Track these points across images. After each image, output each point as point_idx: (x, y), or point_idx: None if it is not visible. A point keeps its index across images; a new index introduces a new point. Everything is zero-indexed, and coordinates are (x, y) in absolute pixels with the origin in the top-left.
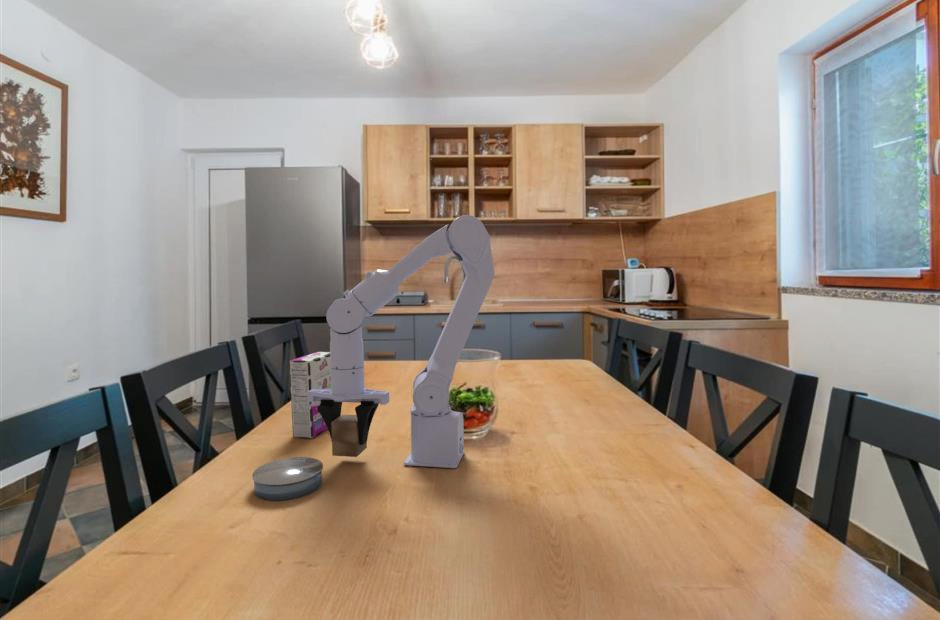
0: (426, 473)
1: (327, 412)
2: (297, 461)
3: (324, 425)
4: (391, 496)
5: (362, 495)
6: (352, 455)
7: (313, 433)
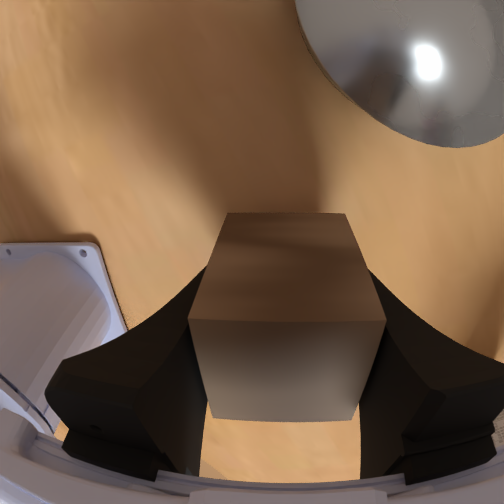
0: (31, 206)
1: (433, 369)
2: (451, 94)
3: None
4: (43, 44)
5: (115, 10)
6: (247, 215)
7: None
